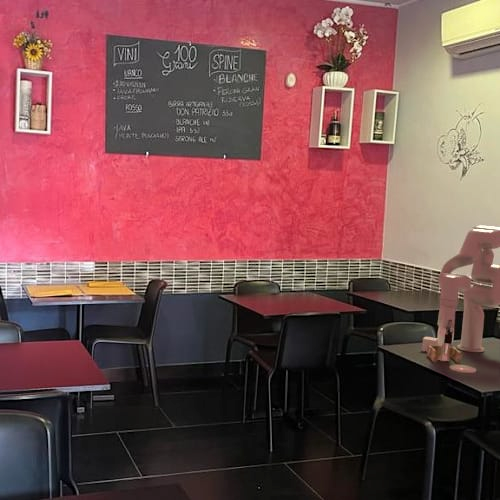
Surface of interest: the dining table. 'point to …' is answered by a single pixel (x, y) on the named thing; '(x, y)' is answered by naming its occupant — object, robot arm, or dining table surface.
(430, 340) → the pale pink cube
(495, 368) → the dining table surface
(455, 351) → the wooden u-shaped bracket
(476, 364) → the dining table surface
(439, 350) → the beer glass
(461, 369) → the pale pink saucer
